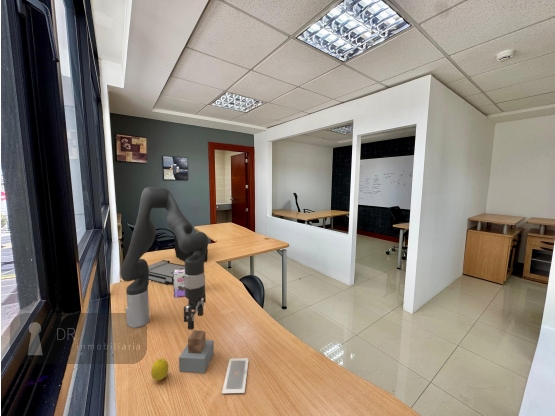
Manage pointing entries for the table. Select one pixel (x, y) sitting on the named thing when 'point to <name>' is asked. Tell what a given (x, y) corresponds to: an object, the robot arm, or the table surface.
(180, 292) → the candy box
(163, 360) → the lemon
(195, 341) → the walnut block
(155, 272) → the game console
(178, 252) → the uninterruptible power supply
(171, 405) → the table surface
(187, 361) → the base block
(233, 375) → the touchpad
